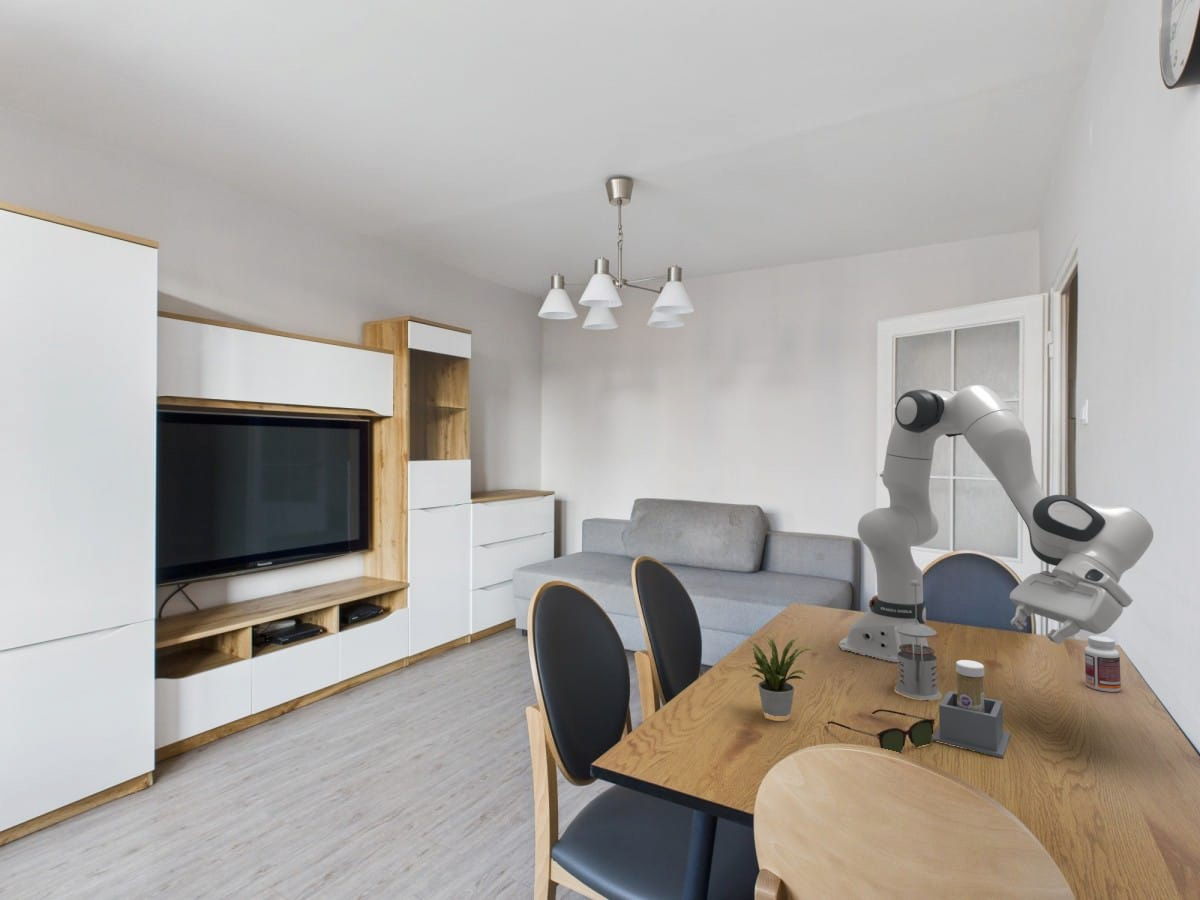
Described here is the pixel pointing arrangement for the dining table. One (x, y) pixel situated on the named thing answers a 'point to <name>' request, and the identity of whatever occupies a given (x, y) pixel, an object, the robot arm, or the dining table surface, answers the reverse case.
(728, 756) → the dining table surface
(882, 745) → the sunglasses
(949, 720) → the square holder
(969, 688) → the sprinkles bottle
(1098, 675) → the pill bottle
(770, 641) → the house plant
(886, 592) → the robot arm
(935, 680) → the french press
